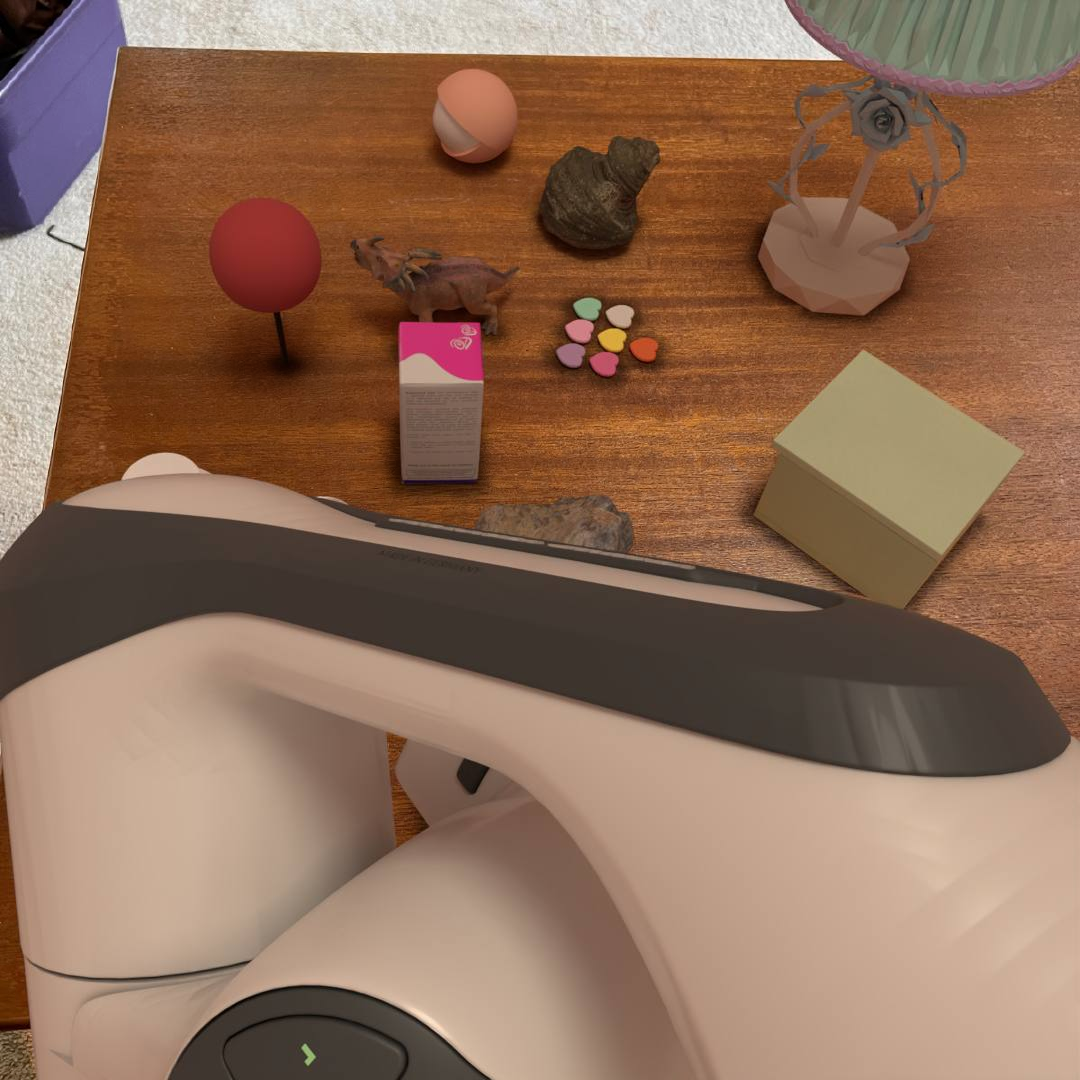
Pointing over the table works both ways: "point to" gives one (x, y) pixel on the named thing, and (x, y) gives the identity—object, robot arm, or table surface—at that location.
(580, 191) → the seashell
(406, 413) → the supplement box
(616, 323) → the candy hearts
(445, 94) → the toy ball
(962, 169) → the table lamp
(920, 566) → the olive open box
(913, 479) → the lid
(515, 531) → the rock
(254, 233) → the lollipop
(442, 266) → the dinosaur figurine
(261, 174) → the table surface
